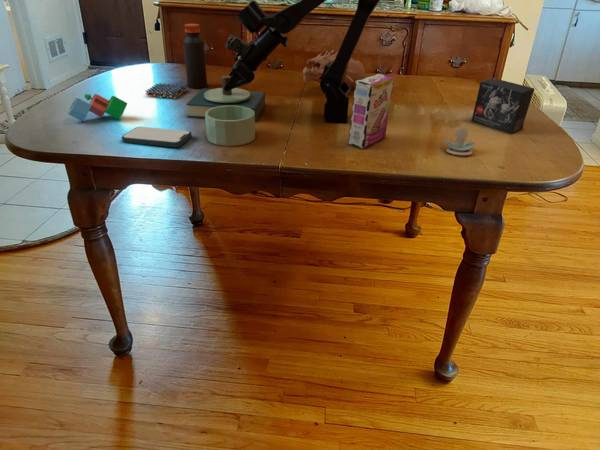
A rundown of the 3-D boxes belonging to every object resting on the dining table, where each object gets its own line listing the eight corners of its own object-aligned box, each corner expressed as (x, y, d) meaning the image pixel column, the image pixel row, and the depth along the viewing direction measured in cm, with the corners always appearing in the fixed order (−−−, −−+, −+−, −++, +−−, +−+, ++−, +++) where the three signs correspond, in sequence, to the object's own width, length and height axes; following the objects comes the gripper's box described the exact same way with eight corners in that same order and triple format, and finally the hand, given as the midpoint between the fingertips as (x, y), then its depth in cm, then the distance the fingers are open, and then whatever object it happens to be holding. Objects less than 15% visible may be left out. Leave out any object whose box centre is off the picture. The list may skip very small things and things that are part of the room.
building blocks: (109, 135, 131) (66, 114, 125) (119, 112, 134) (78, 90, 128) (117, 126, 125) (73, 103, 119) (128, 102, 128) (85, 78, 122)
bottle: (188, 89, 156) (182, 26, 146) (186, 84, 162) (180, 23, 151) (208, 88, 158) (203, 26, 147) (206, 83, 163) (201, 22, 153)
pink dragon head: (370, 48, 159) (336, 44, 139) (369, 93, 164) (336, 95, 143) (336, 51, 166) (299, 47, 146) (336, 93, 170) (301, 95, 150)
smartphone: (120, 143, 115) (178, 149, 112) (119, 137, 114) (178, 143, 111) (138, 131, 123) (193, 136, 120) (137, 125, 122) (193, 130, 119)
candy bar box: (364, 150, 116) (371, 84, 107) (347, 144, 118) (353, 80, 109) (386, 138, 123) (395, 76, 114) (370, 133, 126) (378, 72, 117)
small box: (470, 121, 137) (479, 80, 130) (482, 116, 140) (492, 77, 134) (511, 134, 128) (523, 91, 122) (523, 129, 132) (535, 87, 126)
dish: (243, 125, 128) (242, 102, 124) (263, 141, 119) (262, 116, 115) (200, 132, 122) (198, 108, 119) (217, 149, 113) (215, 124, 110)
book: (265, 105, 144) (265, 92, 142) (255, 121, 131) (255, 108, 129) (203, 101, 146) (202, 88, 144) (187, 117, 132) (186, 103, 130)
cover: (250, 91, 142) (250, 71, 139) (249, 105, 131) (248, 83, 128) (207, 91, 141) (205, 70, 138) (201, 104, 130) (199, 82, 127)
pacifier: (475, 158, 113) (470, 148, 118) (481, 134, 110) (476, 125, 115) (445, 156, 114) (442, 146, 119) (450, 132, 111) (447, 123, 116)
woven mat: (176, 99, 146) (175, 93, 145) (144, 97, 147) (143, 90, 146) (188, 90, 155) (187, 84, 154) (158, 88, 156) (157, 82, 155)
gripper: (243, 19, 133) (208, 58, 139) (239, 30, 118) (200, 73, 123) (270, 48, 138) (235, 84, 143) (270, 62, 122) (231, 102, 128)
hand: (225, 85), depth 134 cm, fingers open, 9 cm apart
